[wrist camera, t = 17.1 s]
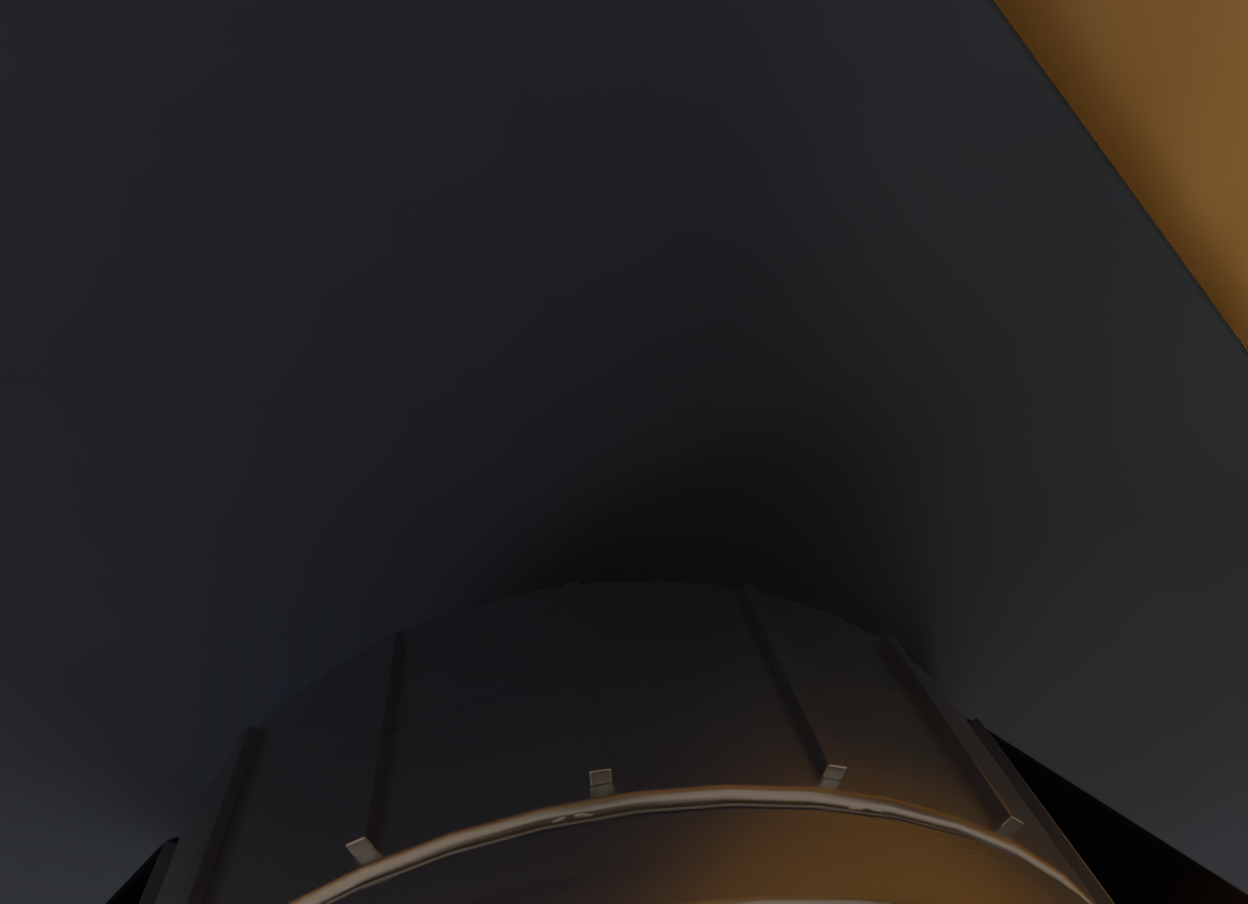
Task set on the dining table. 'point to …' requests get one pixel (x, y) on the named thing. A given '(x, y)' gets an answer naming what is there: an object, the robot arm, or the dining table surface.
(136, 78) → the slate mat
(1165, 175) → the dining table surface
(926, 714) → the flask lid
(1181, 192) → the dining table surface
